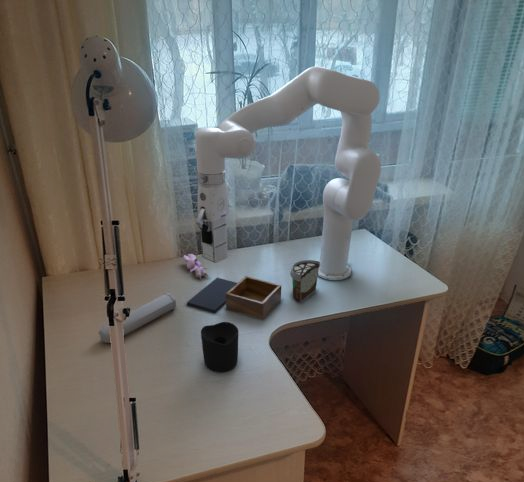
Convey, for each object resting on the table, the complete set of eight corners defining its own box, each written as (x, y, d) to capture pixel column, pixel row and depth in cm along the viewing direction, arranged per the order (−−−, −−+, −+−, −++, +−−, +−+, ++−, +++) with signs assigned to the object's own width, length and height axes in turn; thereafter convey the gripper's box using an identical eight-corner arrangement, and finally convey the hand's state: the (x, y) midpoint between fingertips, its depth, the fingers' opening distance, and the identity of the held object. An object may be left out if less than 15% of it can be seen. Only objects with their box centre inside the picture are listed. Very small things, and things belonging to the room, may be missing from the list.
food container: (302, 283, 165) (303, 255, 159) (318, 288, 162) (320, 261, 156) (281, 298, 157) (282, 270, 151) (298, 304, 154) (299, 276, 148)
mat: (217, 280, 166) (217, 277, 166) (243, 287, 163) (243, 284, 162) (187, 304, 153) (186, 302, 153) (214, 313, 150) (214, 310, 149)
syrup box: (228, 257, 150) (227, 210, 142) (214, 263, 147) (212, 216, 138) (215, 251, 153) (213, 205, 144) (201, 258, 150) (198, 211, 141)
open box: (245, 290, 161) (245, 275, 158) (280, 300, 156) (281, 285, 153) (226, 308, 152) (225, 293, 148) (262, 319, 147) (263, 303, 144)
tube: (107, 337, 132) (177, 299, 147) (95, 325, 133) (165, 289, 149) (107, 350, 136) (175, 312, 151) (95, 338, 137) (163, 301, 153)
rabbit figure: (212, 280, 168) (194, 257, 177) (213, 266, 164) (194, 242, 173) (195, 285, 166) (178, 260, 175) (195, 270, 162) (177, 246, 170)
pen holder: (210, 349, 135) (209, 318, 129) (243, 355, 133) (243, 324, 127) (197, 370, 128) (194, 338, 122) (231, 377, 126) (231, 345, 120)
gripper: (206, 189, 128) (209, 252, 139) (238, 171, 140) (239, 230, 151) (181, 184, 131) (186, 247, 141) (216, 167, 143) (218, 225, 154)
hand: (214, 238), depth 146 cm, fingers closed on syrup box, 6 cm apart
